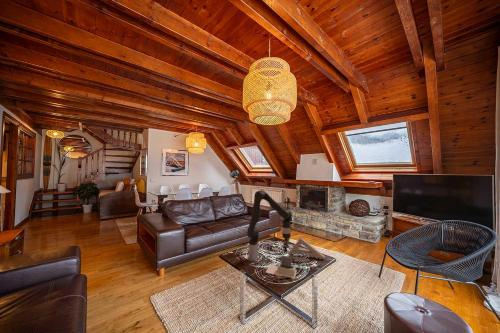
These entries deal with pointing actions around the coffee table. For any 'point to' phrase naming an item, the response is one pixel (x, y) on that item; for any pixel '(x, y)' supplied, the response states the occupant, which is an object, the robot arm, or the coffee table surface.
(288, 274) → the well board
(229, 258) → the coffee table surface
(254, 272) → the coffee table surface
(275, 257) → the coffee table surface
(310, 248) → the wall bracket
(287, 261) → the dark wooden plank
